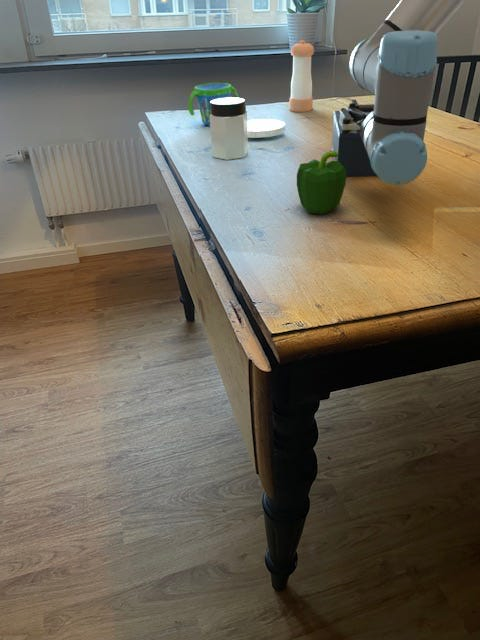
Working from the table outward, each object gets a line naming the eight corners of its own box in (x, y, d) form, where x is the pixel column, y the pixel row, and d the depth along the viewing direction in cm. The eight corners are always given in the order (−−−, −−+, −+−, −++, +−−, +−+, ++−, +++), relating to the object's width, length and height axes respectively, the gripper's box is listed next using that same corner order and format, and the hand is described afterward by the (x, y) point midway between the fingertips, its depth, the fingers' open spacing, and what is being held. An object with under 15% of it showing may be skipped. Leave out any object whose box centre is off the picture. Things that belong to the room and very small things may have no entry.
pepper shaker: (310, 106, 161) (312, 38, 151) (314, 111, 155) (317, 40, 144) (287, 107, 161) (288, 39, 150) (291, 112, 155) (292, 42, 144)
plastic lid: (275, 126, 141) (275, 117, 140) (292, 138, 130) (292, 128, 128) (227, 131, 138) (227, 122, 137) (240, 144, 127) (240, 133, 126)
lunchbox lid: (406, 136, 97) (410, 106, 94) (339, 137, 98) (341, 108, 95) (390, 113, 114) (393, 87, 111) (333, 114, 115) (335, 89, 112)
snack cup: (197, 131, 140) (193, 91, 135) (184, 123, 148) (180, 86, 143) (247, 123, 146) (245, 85, 140) (231, 116, 154) (230, 80, 148)
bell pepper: (291, 216, 87) (292, 158, 81) (301, 199, 93) (302, 144, 88) (339, 220, 85) (343, 160, 79) (346, 202, 91) (351, 146, 85)
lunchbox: (400, 175, 102) (405, 135, 98) (336, 176, 103) (339, 136, 99) (386, 148, 118) (390, 113, 114) (331, 149, 120) (333, 114, 115)
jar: (242, 148, 124) (240, 95, 117) (253, 156, 118) (252, 101, 111) (207, 152, 122) (203, 99, 115) (217, 161, 115) (213, 106, 109)
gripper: (326, 158, 86) (321, 126, 105) (441, 157, 84) (415, 124, 103) (329, 112, 82) (323, 87, 101) (449, 110, 80) (421, 85, 99)
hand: (370, 106), depth 102 cm, fingers closed on lunchbox lid, 6 cm apart
